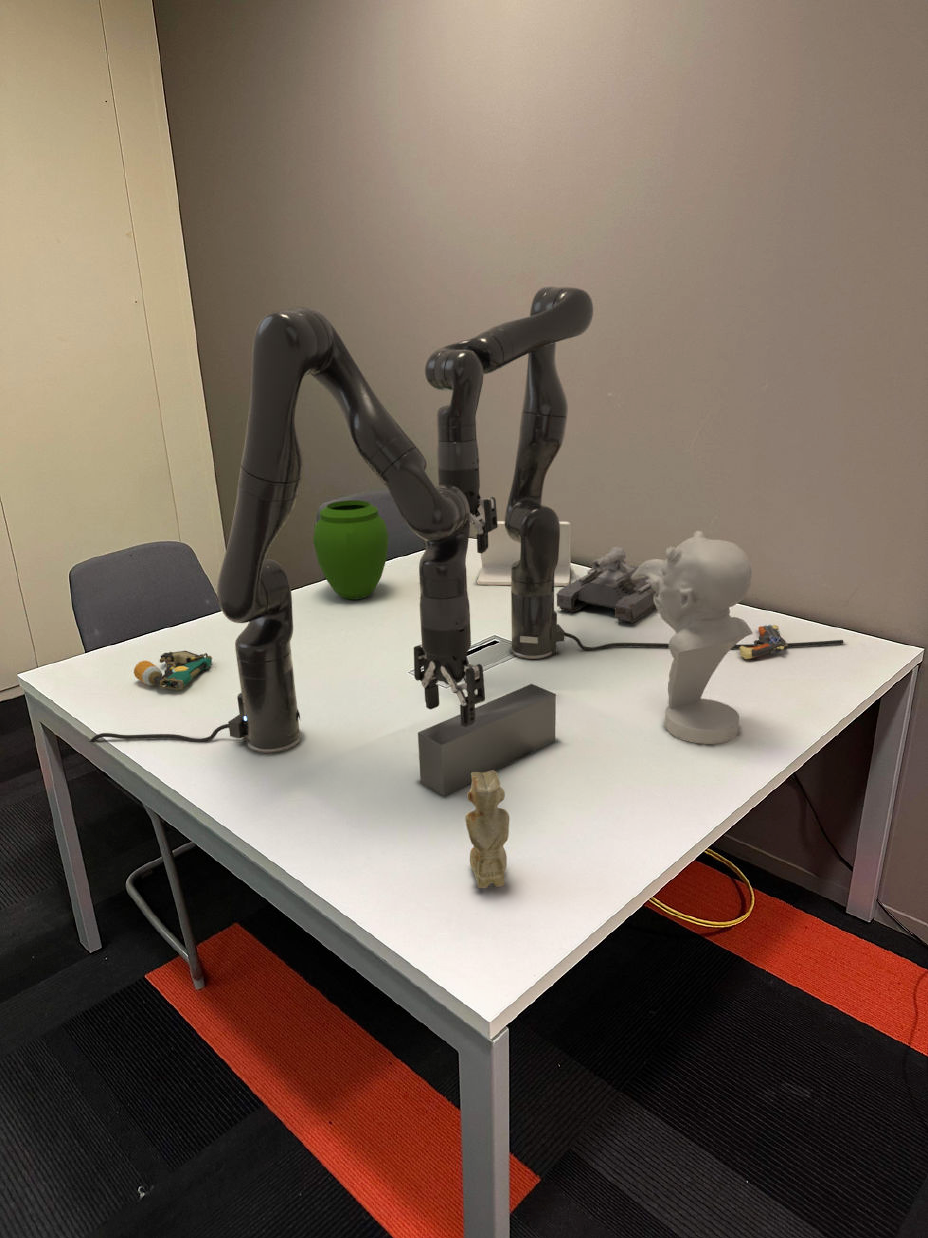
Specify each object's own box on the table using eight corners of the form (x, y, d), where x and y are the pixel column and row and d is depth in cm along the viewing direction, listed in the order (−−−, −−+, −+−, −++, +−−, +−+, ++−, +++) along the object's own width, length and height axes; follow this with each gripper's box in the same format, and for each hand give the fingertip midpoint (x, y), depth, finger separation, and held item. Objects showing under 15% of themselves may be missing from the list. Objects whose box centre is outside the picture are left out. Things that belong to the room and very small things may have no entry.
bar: (531, 729, 154) (531, 683, 151) (555, 741, 150) (556, 693, 147) (420, 782, 138) (417, 732, 135) (443, 796, 134) (441, 745, 131)
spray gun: (177, 659, 191) (231, 671, 185) (120, 684, 176) (176, 698, 171) (176, 641, 190) (230, 653, 184) (118, 665, 175) (174, 678, 169)
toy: (603, 584, 229) (605, 530, 224) (673, 597, 218) (677, 540, 213) (555, 612, 210) (556, 553, 205) (630, 627, 199) (633, 566, 194)
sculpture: (507, 859, 119) (506, 764, 113) (512, 893, 112) (511, 794, 107) (465, 861, 118) (462, 767, 113) (468, 895, 112) (465, 796, 106)
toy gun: (742, 650, 179) (792, 647, 177) (732, 623, 197) (777, 620, 194) (742, 662, 179) (792, 659, 177) (732, 635, 197) (778, 632, 195)
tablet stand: (569, 585, 229) (570, 524, 223) (476, 584, 232) (475, 523, 226) (570, 566, 246) (571, 508, 240) (484, 564, 249) (483, 507, 243)
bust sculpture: (671, 682, 170) (682, 511, 158) (763, 732, 151) (784, 540, 138) (606, 701, 164) (613, 523, 151) (694, 755, 144) (709, 555, 131)
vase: (406, 590, 229) (401, 501, 221) (360, 612, 214) (353, 517, 206) (350, 579, 239) (343, 494, 231) (303, 600, 224) (293, 509, 216)
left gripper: (397, 615, 132) (403, 709, 137) (457, 638, 122) (461, 739, 127) (434, 603, 136) (439, 695, 142) (495, 624, 126) (498, 722, 132)
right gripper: (414, 465, 156) (419, 551, 161) (482, 470, 149) (485, 559, 155) (436, 458, 162) (440, 540, 167) (502, 462, 155) (504, 548, 161)
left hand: (450, 716), depth 135 cm, fingers open, 8 cm apart
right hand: (462, 549), depth 161 cm, fingers open, 8 cm apart
